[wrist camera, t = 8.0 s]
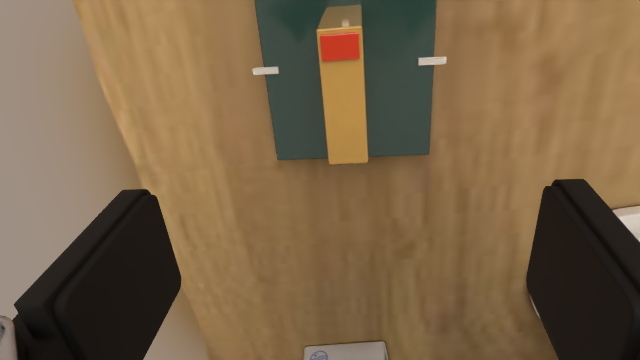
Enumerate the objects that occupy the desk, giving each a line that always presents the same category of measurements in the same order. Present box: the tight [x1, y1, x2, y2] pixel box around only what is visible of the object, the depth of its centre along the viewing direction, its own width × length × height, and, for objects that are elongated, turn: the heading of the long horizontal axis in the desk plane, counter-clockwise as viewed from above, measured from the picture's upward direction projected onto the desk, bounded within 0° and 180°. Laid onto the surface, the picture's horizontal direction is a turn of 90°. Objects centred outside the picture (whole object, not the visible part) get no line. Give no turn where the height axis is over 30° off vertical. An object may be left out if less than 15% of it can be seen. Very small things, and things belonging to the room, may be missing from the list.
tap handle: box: [316, 5, 368, 165], centre depth 21 cm, size 6×2×6 cm, turn 5°
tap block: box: [253, 0, 446, 160], centre depth 25 cm, size 11×10×3 cm
